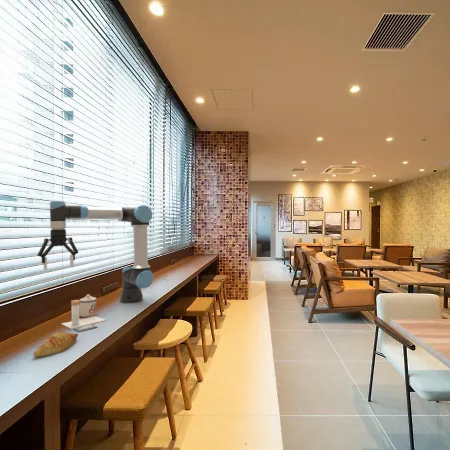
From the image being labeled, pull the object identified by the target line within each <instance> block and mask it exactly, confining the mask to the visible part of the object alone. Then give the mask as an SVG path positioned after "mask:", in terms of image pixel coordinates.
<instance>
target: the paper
mask: <svg viewBox="0 0 450 450" xmlns="http://www.w3.org/2000/svg"><path fill="white" fill-rule="evenodd" d="M106 321H107V319H103V318H101V317H98V316H96V315H94V316H90V317H83V318H79V325H77V326H72V320H70V321H68V322H62V323H61V325H62V326H64V327H66V328H67V329H68V328H69V329H70V330H72V329H73V330H74V328H77V327H81V326H85V325H90V324H93V325H95V324H96V323H97V324H98V323H101V322H106Z"/></svg>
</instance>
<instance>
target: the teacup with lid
mask: <svg viewBox="0 0 450 450" xmlns="http://www.w3.org/2000/svg"><path fill="white" fill-rule="evenodd" d="M79 300H80V304H79V317H80V318H81V317H82V318H88V317H93V316H96V315H97V301H98V300H97V297H95V296H92V295H91V294H86V296H84V297H82V298H80V299H79Z"/></svg>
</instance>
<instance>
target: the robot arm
mask: <svg viewBox="0 0 450 450" xmlns="http://www.w3.org/2000/svg"><path fill="white" fill-rule="evenodd" d="M49 217H50V218H49V221H50V223H49V224H50V227H49V228H50V237H49V238H44V239H43V243H42V245H41V247H40V249H39V251H38V253H37V257H39V258H40V257H41V264H43V270H48V257H47V255H49V253H50V252H51V251H52V250H53V248H54V247H63V248H65V249H66V250H67V251H68V252H69V253H70V255H69V266H70V267H74V266H75V265H74V261H75V260H76V255H77V254H79V250H78V249H77V247H76V245H75V243H74V241H73V237H67V230H66V228H67V222H66V221H67V220H111V221H112V220H113V221H114V220H116V221H118V222H125V223H130V226H131V227H132V228H133V254H134V255H133V257H134V258H133V260H134V261H133V263H134V264H133V266H128V267H127V266H126V267H123V268H122V273H121V274H122V275H121V276H122V290H121V292H120V295H119V296H120V297H119V301H120V302H121V303H127V304H128V303H130V304H131V303H138V302H141V301H143V300H144V296H143V292H142V290H141V289H147V288H149V287H151V285H152V284H153V283H154V278H155V276H154V273H153V272H152V271H151V265H150V264H149V254H148V250H149V249H148V227H150V221H151V220H152V219H153V211H152V209H151V208H150V206H148V205H147V204H136V205H135V204H134V205H129V206H128V205H127V206H118V207H117V208H116V207H114V208H113V207H95V206H94V207H93V206H87V205H84V204H67V203H66V201H65V200H52V201H50V203H49ZM67 242H68V243H69V244H67ZM48 243H50V244H49V246H48ZM69 245H70V246H69ZM47 246H48V247H47Z"/></svg>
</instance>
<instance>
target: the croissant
mask: <svg viewBox="0 0 450 450" xmlns="http://www.w3.org/2000/svg"><path fill="white" fill-rule="evenodd" d="M78 336H79V334H78V333H70V332H65V331H59V332H58V331H57V332H55V333H52V334H50V335H49V336H48V337H47V338H46V339H45V340H44V341H43V342H42V344H41V345H40V346H38V347H37V349H36V350H35V351H34V352H33V355H32V356H33V357H35V358H41V357H46V356H50V355H55V354H58V353H62V352H63V351H64V350H67V349H69V348H70V347H71V346H72V345H73V344H74V343H75V342H76V341H77V338H78Z"/></svg>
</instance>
